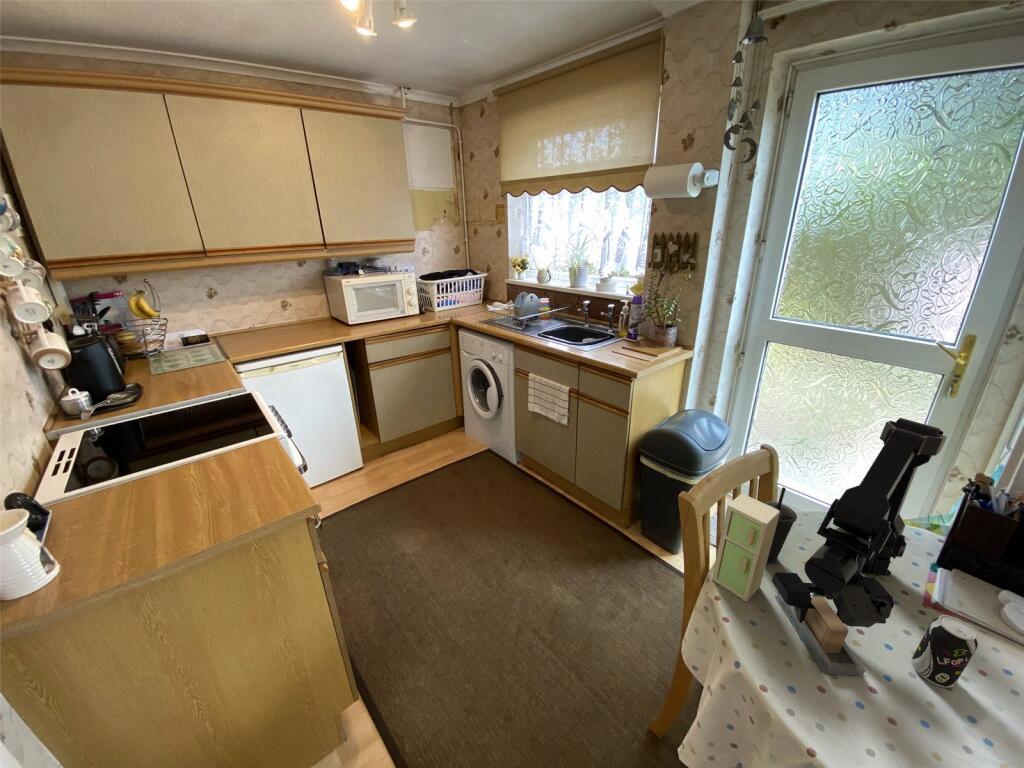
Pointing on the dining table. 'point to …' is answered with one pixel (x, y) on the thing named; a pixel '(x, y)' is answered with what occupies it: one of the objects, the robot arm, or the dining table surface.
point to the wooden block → (826, 626)
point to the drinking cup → (780, 526)
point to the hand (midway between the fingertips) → (818, 622)
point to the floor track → (825, 661)
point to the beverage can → (945, 650)
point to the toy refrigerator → (745, 545)
